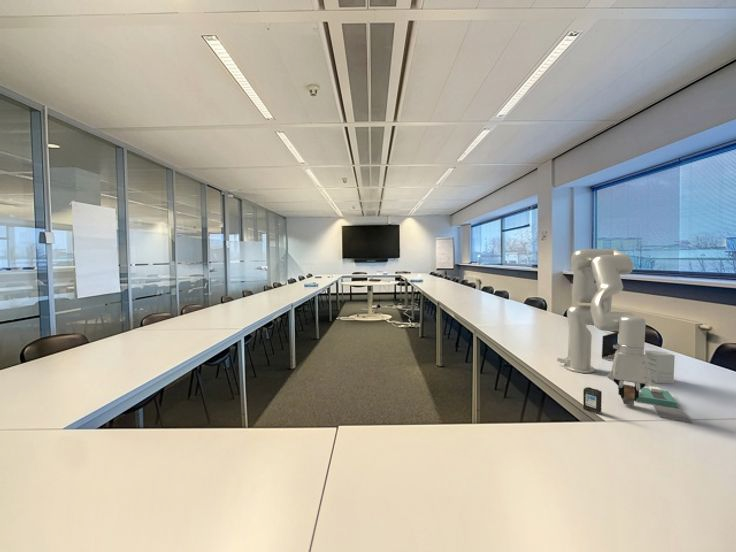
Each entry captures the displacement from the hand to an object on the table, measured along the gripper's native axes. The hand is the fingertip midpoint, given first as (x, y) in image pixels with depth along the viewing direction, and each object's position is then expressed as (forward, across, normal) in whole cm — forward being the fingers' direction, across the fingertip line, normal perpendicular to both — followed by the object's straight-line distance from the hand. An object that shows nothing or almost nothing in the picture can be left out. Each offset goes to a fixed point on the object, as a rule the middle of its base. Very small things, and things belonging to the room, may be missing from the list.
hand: (628, 397), depth 122 cm
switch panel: (+3, +7, +12) cm, 15 cm away
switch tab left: (+1, +4, +10) cm, 10 cm away
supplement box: (+4, +16, +38) cm, 42 cm away
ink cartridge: (+3, -12, -12) cm, 17 cm away
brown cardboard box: (+2, 0, 0) cm, 2 cm away
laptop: (+5, +7, +68) cm, 69 cm away
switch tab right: (+1, +11, +16) cm, 19 cm away
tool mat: (+3, +12, 0) cm, 13 cm away
